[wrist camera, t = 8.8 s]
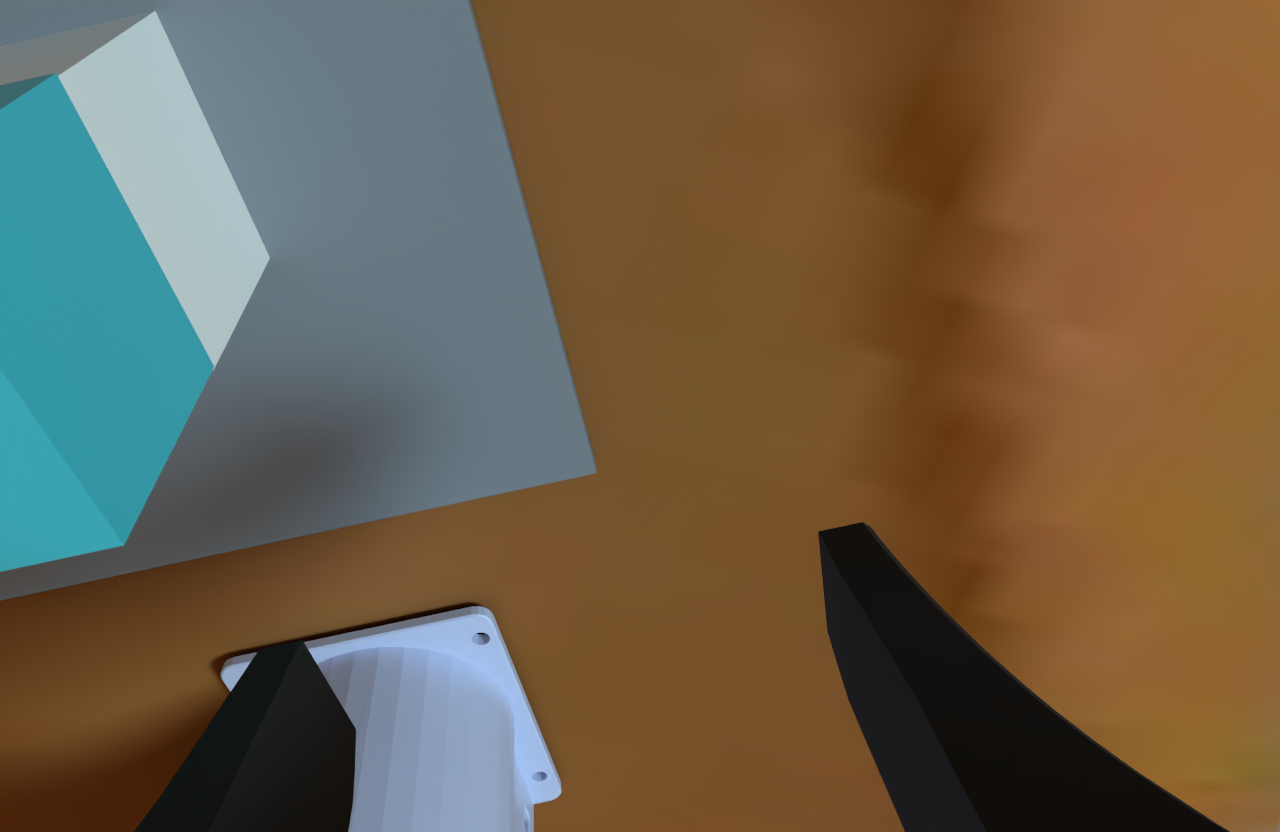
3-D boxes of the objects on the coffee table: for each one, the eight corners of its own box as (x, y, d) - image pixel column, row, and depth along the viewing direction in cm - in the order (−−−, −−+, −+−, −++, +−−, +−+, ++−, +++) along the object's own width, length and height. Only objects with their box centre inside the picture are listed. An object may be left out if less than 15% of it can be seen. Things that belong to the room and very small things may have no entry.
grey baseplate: (595, 461, 24) (596, 472, 24) (6, 587, 25) (-3, 601, 24) (391, -295, 15) (387, -297, 15) (-554, -80, 15) (-583, -75, 15)
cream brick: (269, 257, 20) (213, 370, 16) (41, 308, 20) (-66, 431, 16) (155, 10, 17) (54, 78, 13) (-112, 71, 17) (-287, 156, 13)
